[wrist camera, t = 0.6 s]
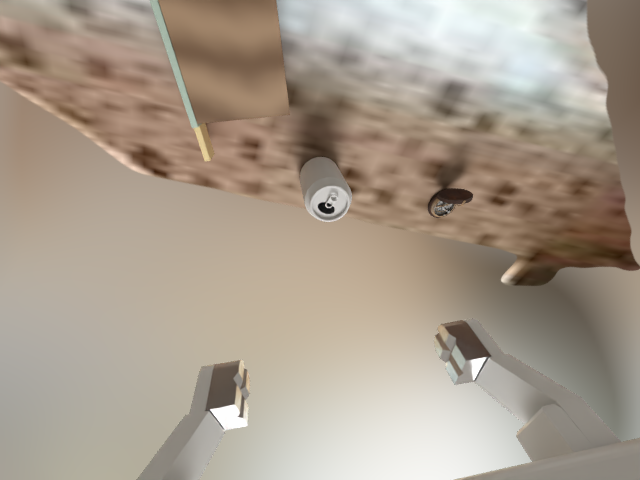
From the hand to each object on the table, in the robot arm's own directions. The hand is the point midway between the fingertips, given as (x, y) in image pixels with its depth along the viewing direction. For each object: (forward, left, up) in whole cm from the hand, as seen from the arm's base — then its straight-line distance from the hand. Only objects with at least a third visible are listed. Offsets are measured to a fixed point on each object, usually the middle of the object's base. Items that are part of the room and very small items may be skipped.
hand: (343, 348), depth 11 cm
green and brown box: (-10, -6, -40) cm, 42 cm away
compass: (+18, +32, -41) cm, 54 cm away
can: (+9, +4, -41) cm, 42 cm away
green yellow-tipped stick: (-17, -13, -40) cm, 46 cm away
